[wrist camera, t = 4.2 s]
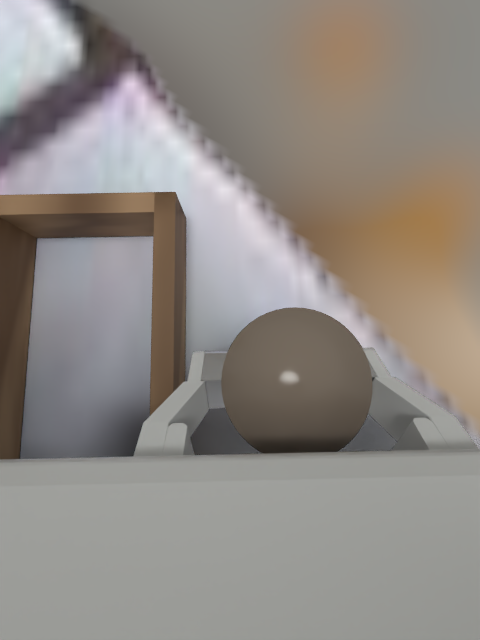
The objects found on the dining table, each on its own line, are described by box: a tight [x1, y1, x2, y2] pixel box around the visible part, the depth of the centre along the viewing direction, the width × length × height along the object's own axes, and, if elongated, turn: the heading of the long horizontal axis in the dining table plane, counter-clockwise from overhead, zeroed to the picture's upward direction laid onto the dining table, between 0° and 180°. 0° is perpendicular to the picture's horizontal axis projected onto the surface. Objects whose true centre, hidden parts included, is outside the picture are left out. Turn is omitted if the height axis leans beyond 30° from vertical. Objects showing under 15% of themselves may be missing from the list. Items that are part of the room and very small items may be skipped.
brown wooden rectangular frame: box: [0, 192, 186, 459], centre depth 15 cm, size 11×18×3 cm, turn 1°
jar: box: [221, 308, 372, 454], centre depth 12 cm, size 5×5×8 cm
